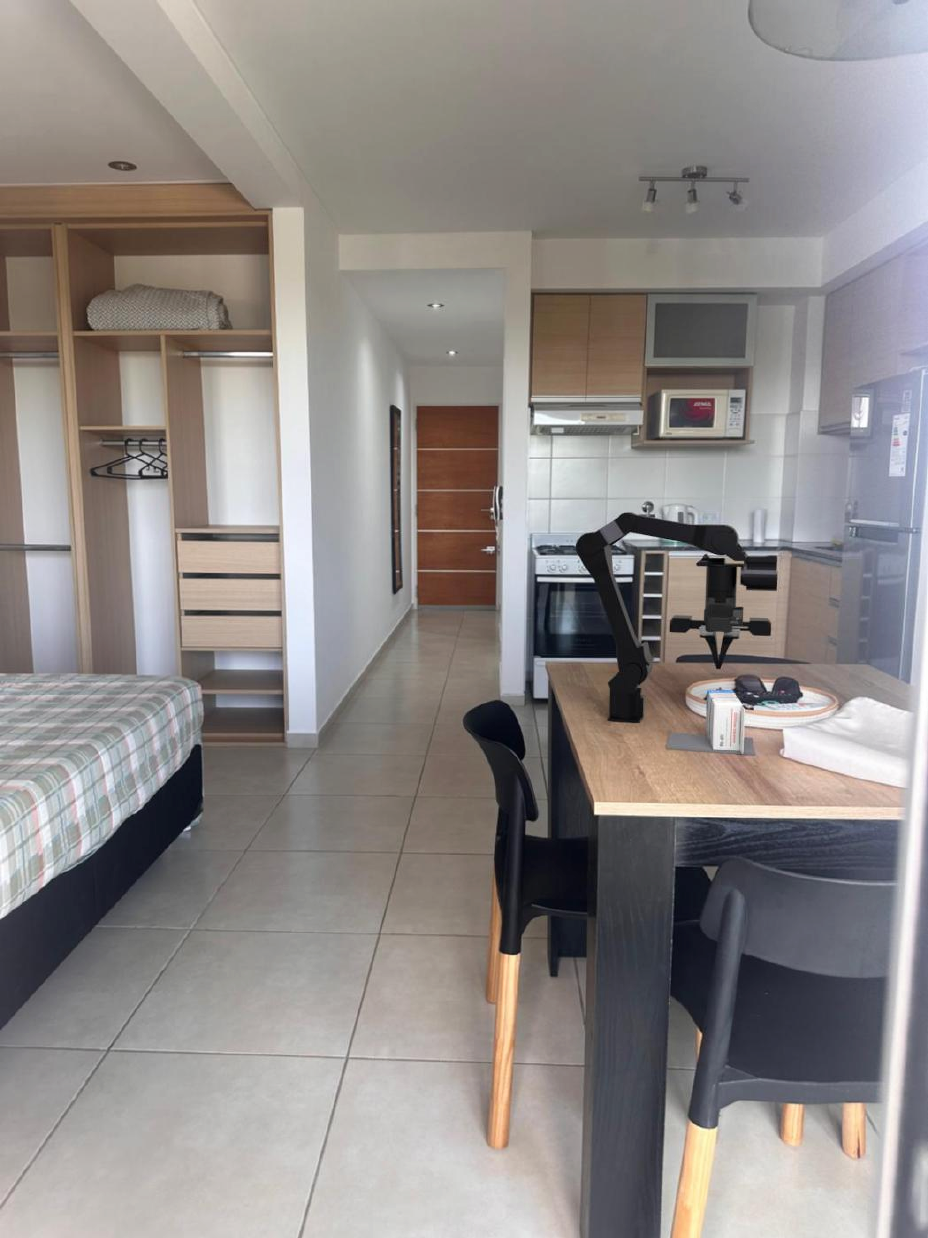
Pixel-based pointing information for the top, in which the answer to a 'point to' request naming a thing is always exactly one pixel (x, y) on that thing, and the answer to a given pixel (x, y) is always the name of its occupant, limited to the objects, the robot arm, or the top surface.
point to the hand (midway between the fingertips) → (718, 668)
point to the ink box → (725, 720)
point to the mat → (703, 744)
